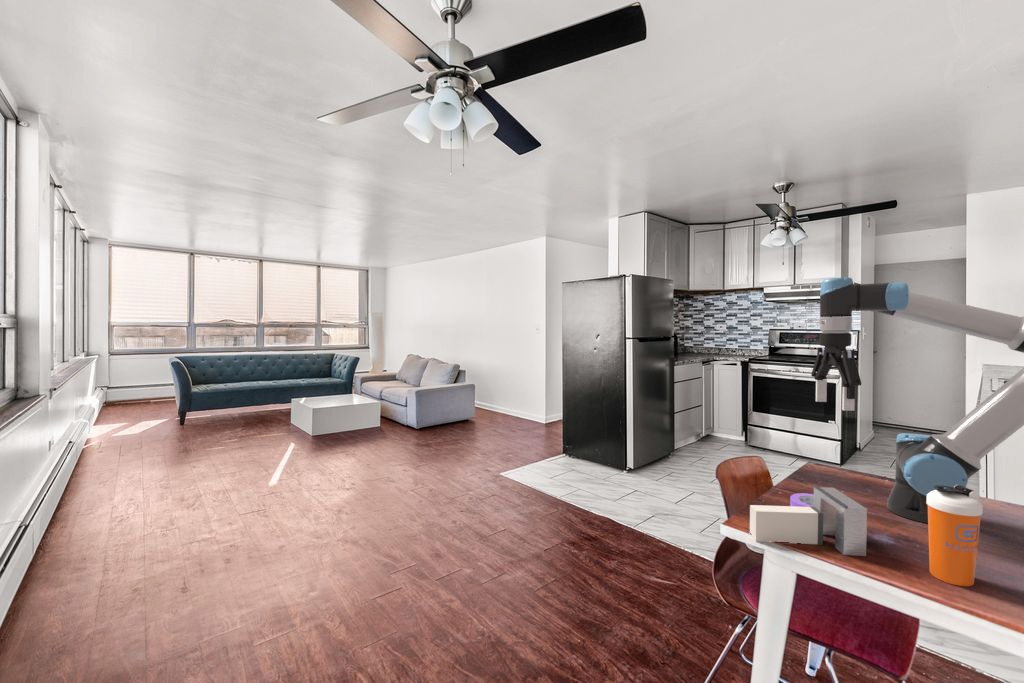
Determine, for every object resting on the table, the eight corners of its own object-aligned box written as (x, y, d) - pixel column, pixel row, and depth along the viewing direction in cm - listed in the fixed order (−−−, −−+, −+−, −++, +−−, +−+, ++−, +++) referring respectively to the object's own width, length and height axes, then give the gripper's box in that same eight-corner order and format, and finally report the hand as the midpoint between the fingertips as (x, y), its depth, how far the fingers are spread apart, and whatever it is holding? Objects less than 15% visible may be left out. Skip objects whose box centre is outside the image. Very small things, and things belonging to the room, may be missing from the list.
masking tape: (846, 516, 133) (846, 503, 133) (822, 525, 128) (822, 511, 127) (805, 502, 143) (805, 490, 143) (781, 510, 138) (781, 497, 138)
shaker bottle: (913, 567, 105) (915, 481, 104) (949, 565, 106) (951, 479, 105) (953, 590, 96) (956, 496, 95) (992, 588, 97) (996, 494, 96)
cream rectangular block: (814, 537, 121) (814, 506, 120) (822, 544, 116) (823, 513, 116) (749, 534, 122) (749, 504, 122) (755, 541, 118) (756, 510, 118)
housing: (832, 529, 125) (833, 485, 124) (866, 556, 110) (867, 506, 110) (812, 528, 125) (813, 484, 125) (844, 555, 111) (845, 506, 110)
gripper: (799, 331, 145) (798, 398, 146) (847, 333, 120) (846, 414, 121) (825, 330, 144) (823, 398, 145) (878, 333, 119) (877, 414, 120)
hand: (833, 405), depth 133 cm, fingers open, 13 cm apart
